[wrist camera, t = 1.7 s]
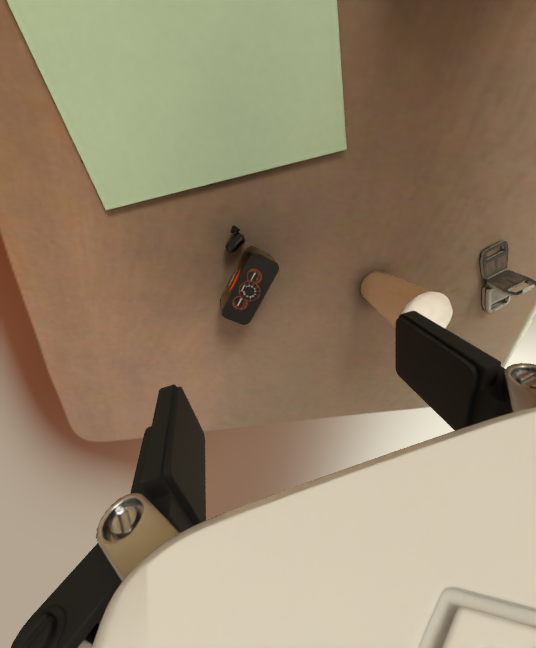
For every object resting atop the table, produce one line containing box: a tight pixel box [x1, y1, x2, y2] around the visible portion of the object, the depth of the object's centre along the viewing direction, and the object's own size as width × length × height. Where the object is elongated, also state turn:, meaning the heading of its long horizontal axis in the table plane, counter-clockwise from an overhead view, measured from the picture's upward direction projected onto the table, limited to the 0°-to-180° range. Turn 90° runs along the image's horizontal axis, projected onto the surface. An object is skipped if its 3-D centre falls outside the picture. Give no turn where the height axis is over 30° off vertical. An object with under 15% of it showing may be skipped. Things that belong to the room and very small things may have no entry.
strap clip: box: [480, 241, 536, 313], centre depth 31 cm, size 8×3×4 cm, turn 25°
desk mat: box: [7, 0, 347, 210], centre depth 19 cm, size 14×20×1 cm
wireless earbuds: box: [220, 226, 279, 325], centre depth 25 cm, size 5×7×3 cm, turn 151°
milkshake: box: [360, 272, 453, 329], centre depth 26 cm, size 5×5×10 cm
